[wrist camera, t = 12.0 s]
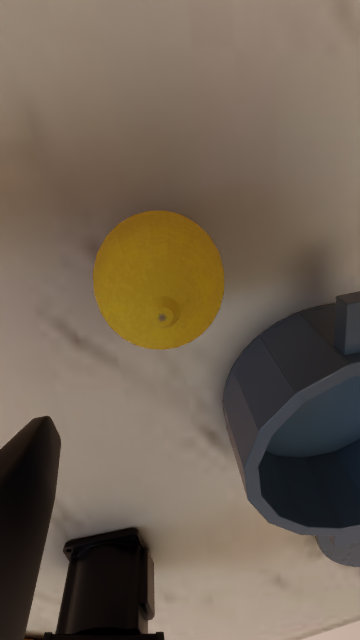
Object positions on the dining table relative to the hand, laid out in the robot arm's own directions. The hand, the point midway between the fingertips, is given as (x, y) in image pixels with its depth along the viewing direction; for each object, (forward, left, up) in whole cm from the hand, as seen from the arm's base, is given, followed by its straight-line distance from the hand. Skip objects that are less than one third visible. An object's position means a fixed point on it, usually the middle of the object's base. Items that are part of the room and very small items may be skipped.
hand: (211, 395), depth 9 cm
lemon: (-1, +1, -11) cm, 11 cm away
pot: (+8, -11, -10) cm, 17 cm away
